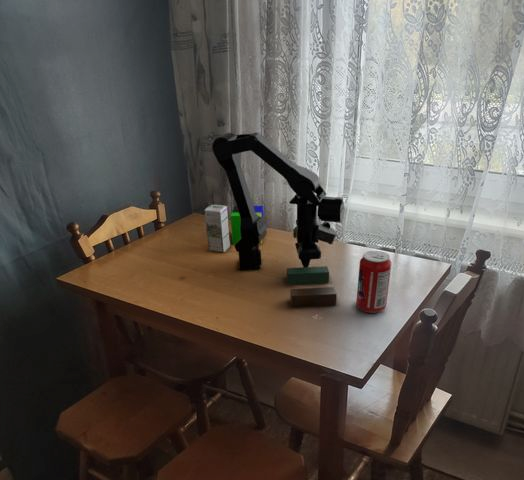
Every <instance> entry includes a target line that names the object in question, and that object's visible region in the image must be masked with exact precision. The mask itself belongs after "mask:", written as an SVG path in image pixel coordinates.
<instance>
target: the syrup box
mask: <svg viewBox="0 0 524 480" xmlns="http://www.w3.org/2000/svg"><path fill="white" fill-rule="evenodd" d="M204 217H205V227H206V236H207V237H206V238H207V245H208V246H207V248H208V252H216V253H225V252H226V251H227V250H228V249H229V248H230V247H231V242H230V233H229V232H230V230H229V216H228V206H227V205H222V204H221V205H220V204H210V205H208V206H207V207H206V208H205V209H204Z"/></svg>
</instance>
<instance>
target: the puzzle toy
mask: <svg viewBox="0 0 524 480" xmlns="http://www.w3.org/2000/svg"><path fill="white" fill-rule="evenodd" d="M253 206H254V210H255V212H256V214H257V215H258V216H259V217H262V216H264V205H253ZM240 221H241V219H240V215H239V212H238V208H237V205H234V207H233V209H232V211H231V214H230V226H231V229H230V230H231V242H232V244H231V245H235V244H236V243H237V242H238V241H239V240H240V239H241V233H240ZM262 243H263V240H262V241H261V242H260V243H259V244H258V245H262Z"/></svg>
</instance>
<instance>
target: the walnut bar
mask: <svg viewBox="0 0 524 480" xmlns="http://www.w3.org/2000/svg"><path fill="white" fill-rule="evenodd" d="M289 292H290V293H289V294H290V295H289V296H290V298H289V299H290V305H291V308H305V307H306V308H307V307H328V306H337V291H336V288H335V286H328V287H327V286H326V287H325V286H324V287H306V288H290V291H289Z"/></svg>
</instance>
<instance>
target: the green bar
mask: <svg viewBox="0 0 524 480" xmlns="http://www.w3.org/2000/svg"><path fill="white" fill-rule="evenodd" d="M286 282H287V285H288V286H289V285H290V286H292V285H293V286H294V285H308V284H309V285H312V284H314V285H315V284H329V283H330V271H329V268H328V266H327V265H324V266H323V265H322V266H308V267H303V266H302V267H286Z"/></svg>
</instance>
